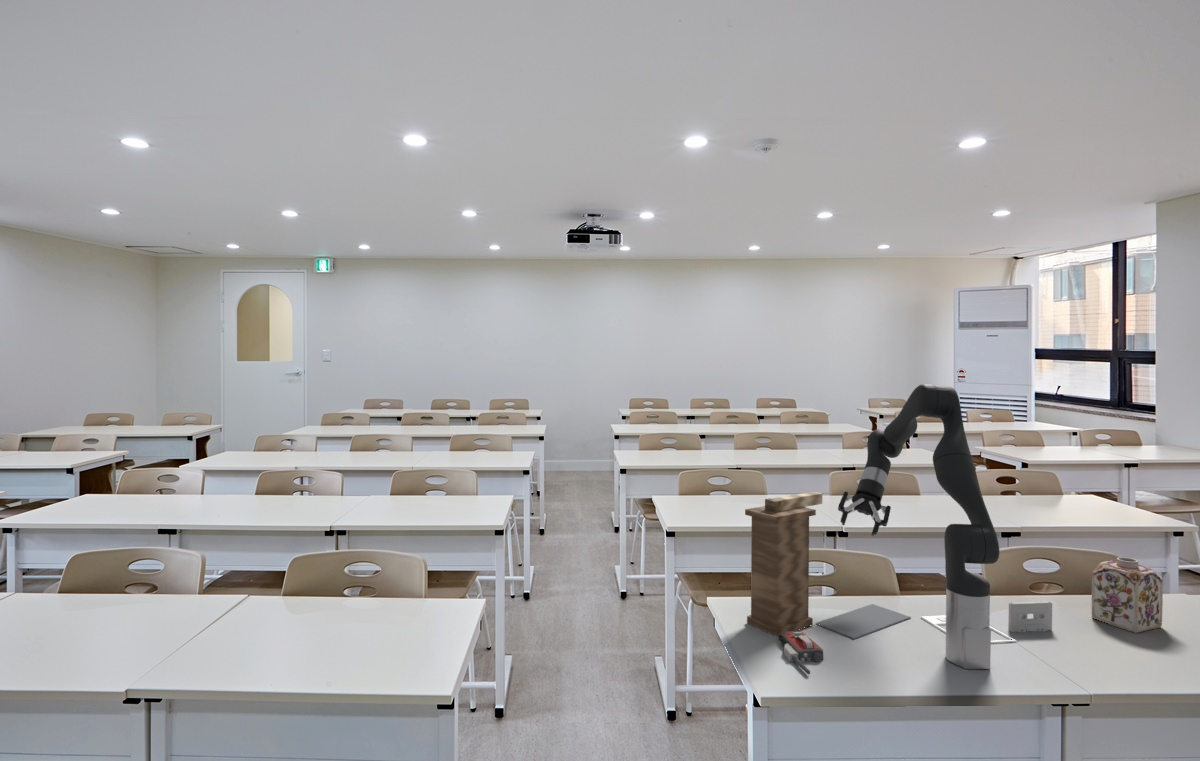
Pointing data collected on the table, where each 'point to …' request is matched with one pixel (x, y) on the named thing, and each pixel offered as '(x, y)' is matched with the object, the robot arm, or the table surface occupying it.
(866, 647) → the table surface
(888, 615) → the mat
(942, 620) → the photo frame
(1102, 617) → the decorative jar
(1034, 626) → the cassette
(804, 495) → the wooden bar
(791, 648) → the walkie-talkie
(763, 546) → the stand
